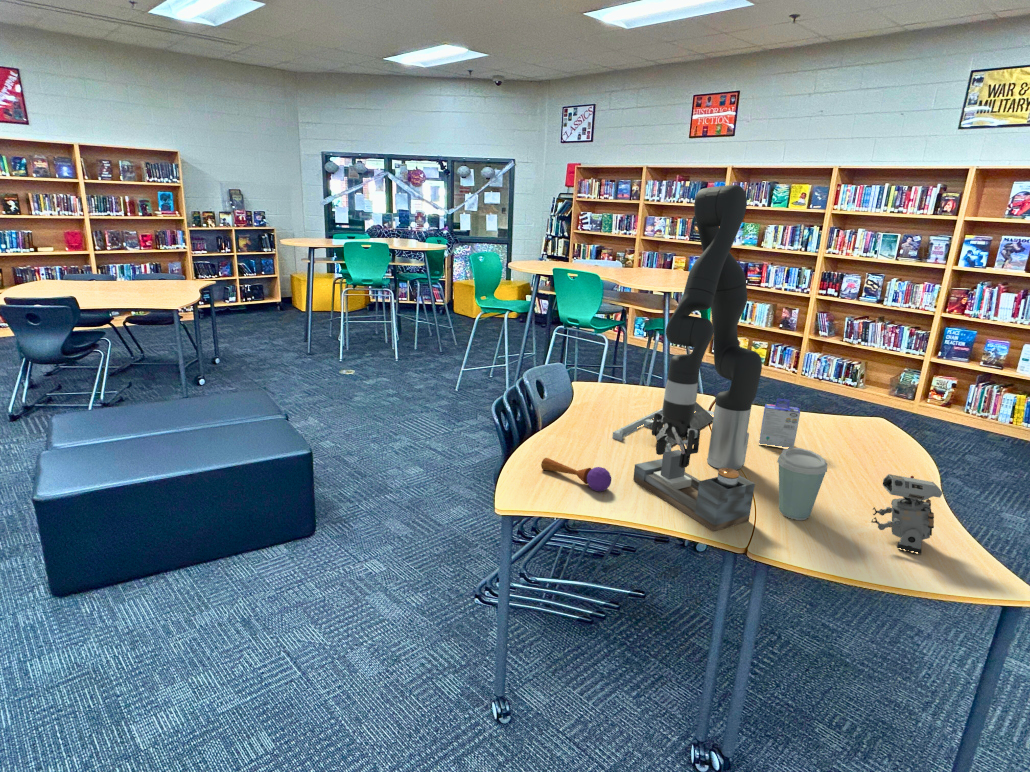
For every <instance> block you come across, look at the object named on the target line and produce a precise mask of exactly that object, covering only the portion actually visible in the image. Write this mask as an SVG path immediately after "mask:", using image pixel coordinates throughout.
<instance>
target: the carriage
mask: <svg viewBox="0 0 1030 772" xmlns="http://www.w3.org/2000/svg"><path fill="white" fill-rule="evenodd" d="M681 453H682V452H681V449H674V450H671V451H669V452H664V453H663V454H662V458H661V459H662V467H661V471H656V472H653V475H654V476H656V477H658V478H659V479H661V480H663V481H664V482H666V483H668V484H669V485H671V486H673V487H674V488H676V489H681V488H686V487H690V486H691V481H692V479H691V478H689V477H688V476H686V475H684V473H685V472H686V470H685V469H686V467H685V468H681V467H679V462H680V455H681Z"/></svg>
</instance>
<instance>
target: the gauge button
mask: <svg viewBox="0 0 1030 772" xmlns="http://www.w3.org/2000/svg"><path fill="white" fill-rule="evenodd" d="M739 475H740V473H739V471H738V470H734V469H730V468H721V469H718V472H717V477H718V478H717V484H719V485H721V486H723V487H725V488H727V489H730V488H734V487H737V485H738V479H739Z"/></svg>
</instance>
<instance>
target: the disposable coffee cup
mask: <svg viewBox="0 0 1030 772" xmlns="http://www.w3.org/2000/svg"><path fill="white" fill-rule="evenodd" d="M781 450H782V451H781V453H780V454H779V456H778V459H777V461H776V463H777V464H778V506H779V507H778V509H779V513H780V512H781V513H782V514H783V515H784V516H783V515H782V514H781V513H780V514H781V515H782V516H783V517H785V516H786V517H785V518H787V517H788V519H789V518H791V519H790V520H793V519H796V520H795V521H806V520H808V519H809V517H811V514H812V511H813V508H814V505H815V503H816V500H817V497H818V495H819V491H820V489H821V486H822V483H823V481H824V477H825V475H826V473H827V472H828V463H827V461H826V459H824V458H823V457H822V455H820V454H819V453H816V452H814V451H812V450H808V449H805V448H800V447H794V448H788V449H781ZM807 518H808V519H807Z"/></svg>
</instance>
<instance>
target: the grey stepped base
mask: <svg viewBox="0 0 1030 772" xmlns="http://www.w3.org/2000/svg"><path fill="white" fill-rule="evenodd" d="M662 459H663V458H659V459H655V460H649V461H644V462H640V463H635V464H634V471H633V478H632V481H633V482H636V483H637V484H638V485H640V486H642V487H643V488H644V489H646V490H648V491H649V492H650V493H653V494H654V495H656V496H657V497H659V498H661V500H664V501H665V502H667V503H668V504H670V505H671V506H673V507H674V508H675V509H677V510H679V511H681V513H682V512H683V513H684V514H686V515H687V516H689V517H691V518H692V519H693V520H695V521H696V522H699V524H701V525H703V526H704V525H705V527H706V528H707V529H709V528H710V529H709V530H711V531H712V530H713V531H712V532H716V531H715V530H717V531H719V530H724V529H726V527H727V528H730V527H733V525H734V526H737V525H739V524H740V523H741V524H744V523H747V521H748V522H749V521H750V516H751V510H752V503H753V498H754V492H755V486H756V483H755V482H753V481H751V480H749V479H747V478H745V477H743V475H742V476H741V475H740V474H739V479H738V485H737V487H734V488H730V489H727V488H725V487H723V486H721V485H719V484H717V478H718V476H715V477H711V478H708V479H703V480H700V479H698V478H697V477H695V476H693V475H691V474H690V473H687V472H686V471H685V473H684V475H686V476H688V477H689V478H691V479H692V481H691V486H690V487H686V488H681V489H676V488H674V487H673V486H671V485H669V484H668V483H666V482H664V481H663V480H661V479H659V478H658V477H656V476H654V475H653V472H656V471H661V467H662ZM723 528H724V529H723Z"/></svg>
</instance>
